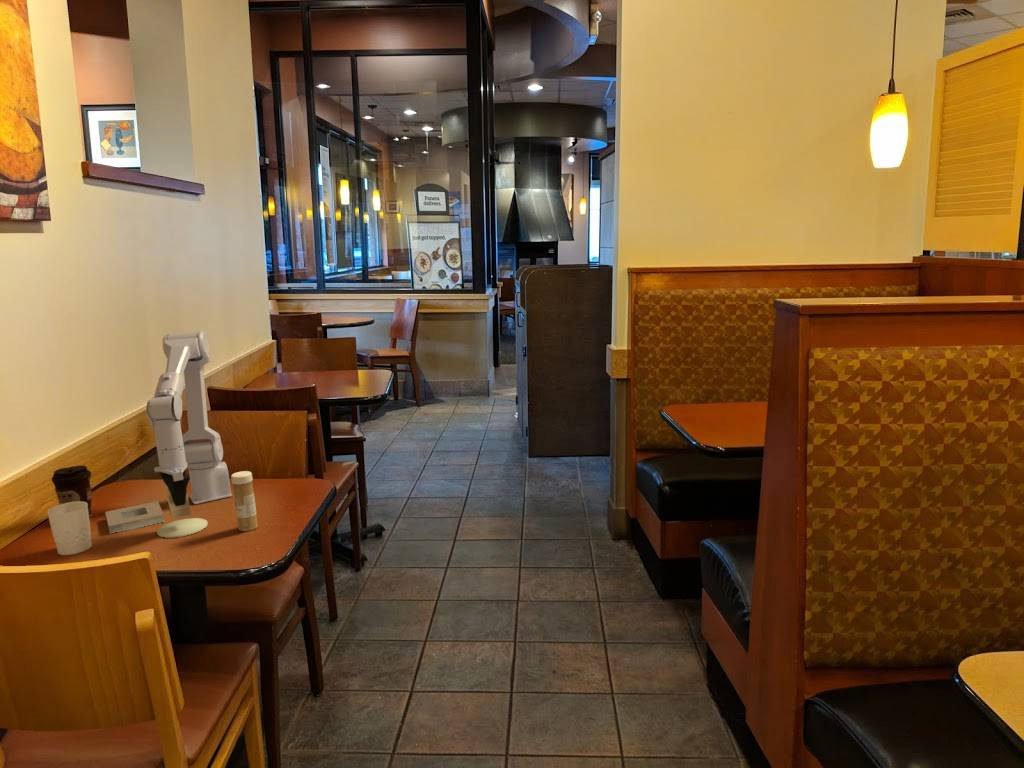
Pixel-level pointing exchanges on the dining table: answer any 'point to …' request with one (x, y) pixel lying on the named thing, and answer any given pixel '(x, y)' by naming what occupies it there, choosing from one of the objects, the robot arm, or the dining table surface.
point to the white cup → (70, 527)
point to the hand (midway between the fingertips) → (178, 502)
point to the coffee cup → (73, 485)
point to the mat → (182, 527)
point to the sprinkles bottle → (244, 500)
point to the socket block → (134, 517)
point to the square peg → (178, 510)
